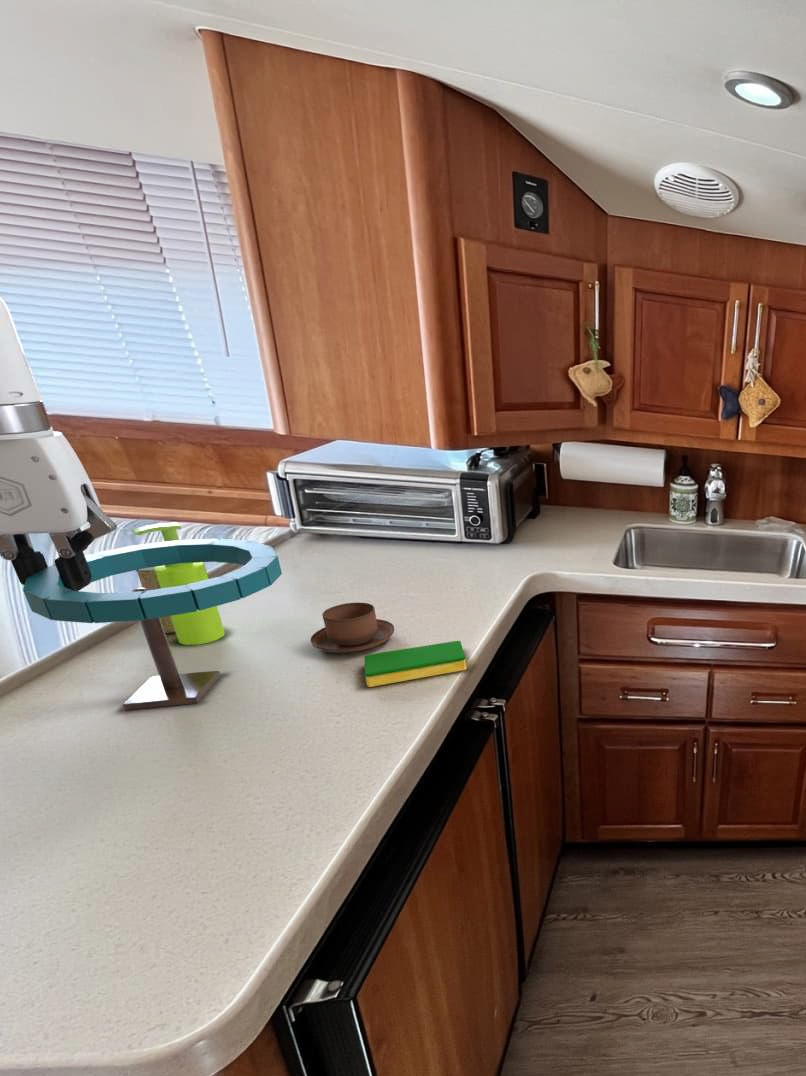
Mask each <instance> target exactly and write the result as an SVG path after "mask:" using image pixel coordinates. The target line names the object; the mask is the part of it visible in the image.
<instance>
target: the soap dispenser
mask: <svg viewBox="0 0 806 1076" xmlns="http://www.w3.org/2000/svg"><path fill="white" fill-rule="evenodd" d="M177 530H182V526H181V524H179V523H178V522H165V523H155V524H149V525H145V526H141V527H138V528H135V529H132V530H131V532H132V533H133V534H134V535H137V536H142V535H144V534H148V533H154V532H161V535H162V538H163V542H166V541H175V540H179V541H180V538H179V536H178V532H177ZM155 572H156V575H157V578H158V581H159V584H160V587H161V588H168V587H175V586H182V585H187V584H191V583H195V582H199V581H203V580H207V579H210V578H209V575H208V571H207V568H206V565H205V562H196V563H179V564H172V565H164V566H156V567H155ZM170 617H171V620H172V623H173V626H174V629H175V632H174V633H175V635H176V638H177V641H178V643H179V644H181V645H184V646H197V645H203V644H208V643H212V642H215V641H217V640H220V639H221V638H223V637H224V636H225V635H226V633H225V628H224V626H223V622H222V619H221V618H222V617H221V614H220V611H219V609H218V606H215V607H211V608H208V609H204V610H197V611H196V612H190V613H184V614H178V615H172V616H170Z"/></svg>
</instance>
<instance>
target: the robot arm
mask: <svg viewBox="0 0 806 1076" xmlns="http://www.w3.org/2000/svg"><path fill="white" fill-rule="evenodd" d="M18 333H19V332H18V331H17V328H16V325H15V323H14V320H13V317H12V315H11V312H10V310H9V307H8V305H7V304H6V303H5V300H4V299H2V298H1V297H0V557H1V558H2V559H3V560H6V561H10V562H11V564H12V567H13V569H14V571H15V574H16V576H17V578H18V581H19V584H21V585H22V586H24V585H25V582H26V579H27V578H28V577H30V576H32V575H34V574H36V573H38V572H40V571H42V570H43V569H45V568H47V567H49V565H48V563H47V560H46V558H45V556H44V554H43V553H42V552H41V551H39V550H38V551H37V550H35V549H34V546H33V543H32V541H31V538H30V535H31V534H37V535H38V534H48V535H49V537H50V539H51V541H52V543H53V547H54V548H55V550H56V552H57V554H58V557H57V558H55V559H54V560H53V563H54V564H55V565H56V568H57V570H58V573H59V575H60V576H61V579H62V581H63V584H64V586H65V588H68V589H70V590H72V591H81V590H83V589H84V588H86V587H88V586H89V585H90V584H91V583H92V582H91V578H92V574H91V572H90V569H89V566H88V564H87V561H86V558H85V556H84V555H85V553H84V551H87V549H88V548H89V546H90V545H91V544H92V543H93V542H94V541H95V540H97V539H99V538H101V537H104V536H106V535H108V534H110V533H113V532H114V531H116V530H117V529H118V525H117V524H116V522H115V521H113V519H111V518H110V517H109V515H107V514H106V513H105V511H103V510H102V508H101V503H100V501H99V499H98V495H97V493H96V491H95V488H94V486H93V484H92V481H91V480H90V477H89V475H88V473H87V471H86V469H85V468H84V466H83V463H82V461H81V460H80V458H79V457H78V454H77V453H76V452H75V450H74V449H73V447H72V445H71V444H70V442H69V441H68V439H67V438H66V437H65V436H64V434H63V433H62V432H61V431H54V429H53V426H52V423H51V420H50V417H49V415H48V412H47V410H46V406H45V404H44V401H43V400H42V399H43V398H42V395H41V393H40V390H39V388H38V385H37V382H36V380H35V377H34V374H33V372H32V368H31V366H30V363H29V361H28V358H27V355H26V352H25V350H24V347H23V345H22V342H21V339H20V337H19V334H18ZM87 523H89V527H87V528H85V529H83V530H82V529H81V528H82V526H83V525H86V524H87Z"/></svg>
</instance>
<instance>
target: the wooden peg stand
mask: <svg viewBox="0 0 806 1076" xmlns="http://www.w3.org/2000/svg"><path fill="white" fill-rule="evenodd" d="M148 590H150V589H147V588H142V587H137V588H134V589H132V590H131V591H130V592H137V591H148ZM139 623H140V626H141V628H142V631H143V634H144V637H145V640H146V642H147V645H148V648H149V651H150V654H151V657H152V661H153V662H154V665H155V668H156V671H157V673H158V675H152V676H150V677H149V678H148V679H147V680H146V681H145V682H144V683H143V684H142V685H141V686H140V687H138V689H137V690H136V691H135V692H134V693H133V694H132V695H131V696H129V698H128V699H126V700H125V701H124V703H122V707H123V709H124V711H132V710H141V709H142V710H143V709H150V708H161V707H162V708H163V707H171V706H182V705H191V704H198V703H199V702H200V701H201V700H202V699H203V697H204V696H205V695H206V694H207V693H208V691H209V690H210V689H211V688H212V687H213V685H215V683H216V682H217V681H218V680H219V679H220V677H221V673H220V670H210V671H199V672H188V673H187V672H186V673H179V670H178V667H177V664H176V662H175V658H174V655H173V652H172V649H171V647H170V644H169V640H168V638H167V633H165V631H164V628H163V625H162V622H161V619H160V618H154V619H148V620H147V618H146V619H144V620H139Z"/></svg>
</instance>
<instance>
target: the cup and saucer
mask: <svg viewBox="0 0 806 1076" xmlns="http://www.w3.org/2000/svg"><path fill="white" fill-rule="evenodd" d="M376 615H377V614H376V610H375V606H374V605H373V604H371V603H368V602H347V603H342V604H338V605H335V606H331V607H328V608H326V609H325V610H324V611H323V612H322V620H323V624H324V627H322V628H321V629H319V630H317V631H316V632H314V633H312V635H311V637H310V643H311V645H312V646H313V647H314V648H315V649H317V650H319V651H321V652H325V653H332V654H346V653H347V654H349V653H350V654H351V653H356V652H362V651H366V650H369V649H372V648H375V647H377V646H379V645H382V644H384V643H385V642H386V641H387V640H389V639H390V638H391V637H392V636H393V635H394V633H395V626H394V624H393V623H392V622H390V621H388V620H385V619H379V618H377V616H376Z"/></svg>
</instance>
